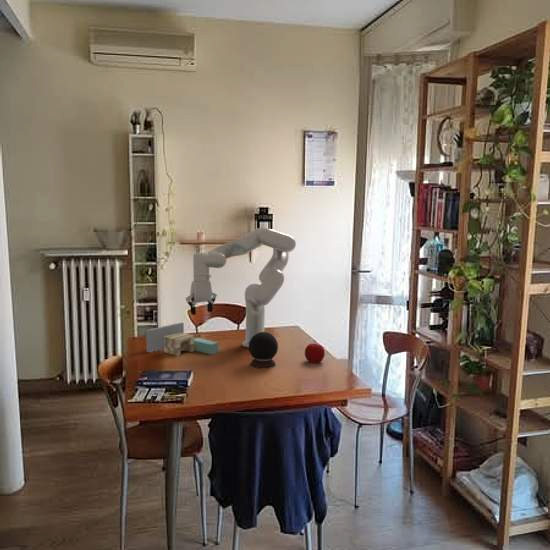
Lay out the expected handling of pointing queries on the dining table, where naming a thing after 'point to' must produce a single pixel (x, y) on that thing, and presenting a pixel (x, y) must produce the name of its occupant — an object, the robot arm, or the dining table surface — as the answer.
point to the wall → (161, 336)
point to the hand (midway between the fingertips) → (201, 313)
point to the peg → (205, 346)
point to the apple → (314, 353)
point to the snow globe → (263, 349)
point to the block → (178, 343)
